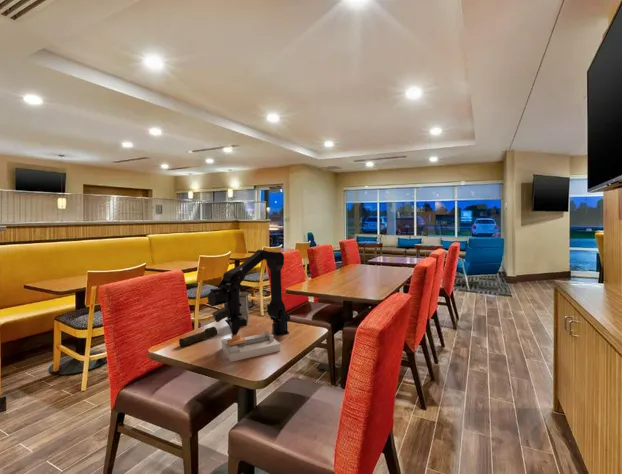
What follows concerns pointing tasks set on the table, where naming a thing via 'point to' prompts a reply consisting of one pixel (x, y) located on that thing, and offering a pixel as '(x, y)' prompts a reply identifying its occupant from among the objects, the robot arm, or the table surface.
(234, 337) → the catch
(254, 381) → the table surface
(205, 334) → the hand tool
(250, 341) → the grey flat bar
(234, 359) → the mount block
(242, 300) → the coffee box
